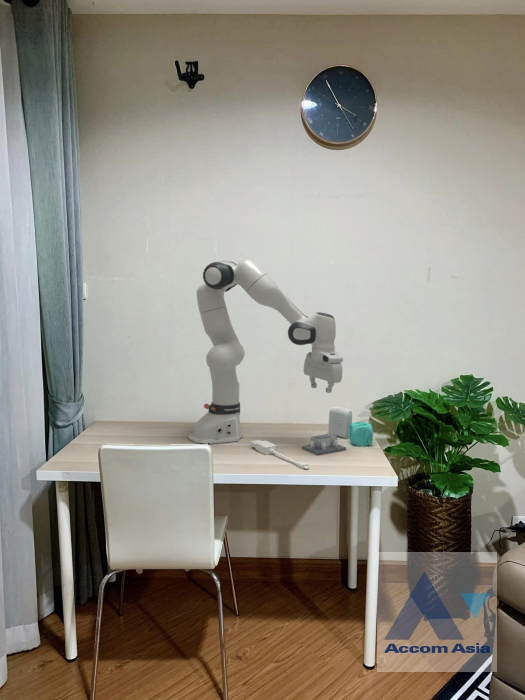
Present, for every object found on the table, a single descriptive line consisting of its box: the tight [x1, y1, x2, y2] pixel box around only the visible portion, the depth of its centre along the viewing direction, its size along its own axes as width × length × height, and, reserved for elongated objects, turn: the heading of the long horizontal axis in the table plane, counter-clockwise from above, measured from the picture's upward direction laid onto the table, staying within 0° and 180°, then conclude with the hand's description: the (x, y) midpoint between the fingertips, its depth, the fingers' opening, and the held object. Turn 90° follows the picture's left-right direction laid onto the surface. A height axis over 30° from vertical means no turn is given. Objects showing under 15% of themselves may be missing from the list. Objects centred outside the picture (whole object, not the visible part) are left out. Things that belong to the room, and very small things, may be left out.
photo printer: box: [328, 406, 353, 440], centre depth 254 cm, size 10×4×12 cm, turn 47°
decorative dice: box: [349, 421, 374, 447], centre depth 244 cm, size 8×8×8 cm
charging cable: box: [250, 439, 311, 470], centre depth 224 cm, size 5×32×3 cm, turn 35°
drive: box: [310, 433, 338, 450], centre depth 235 cm, size 9×5×4 cm, turn 123°
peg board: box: [301, 437, 347, 456], centre depth 235 cm, size 14×10×4 cm
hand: (321, 390), depth 236 cm, fingers open, 8 cm apart
